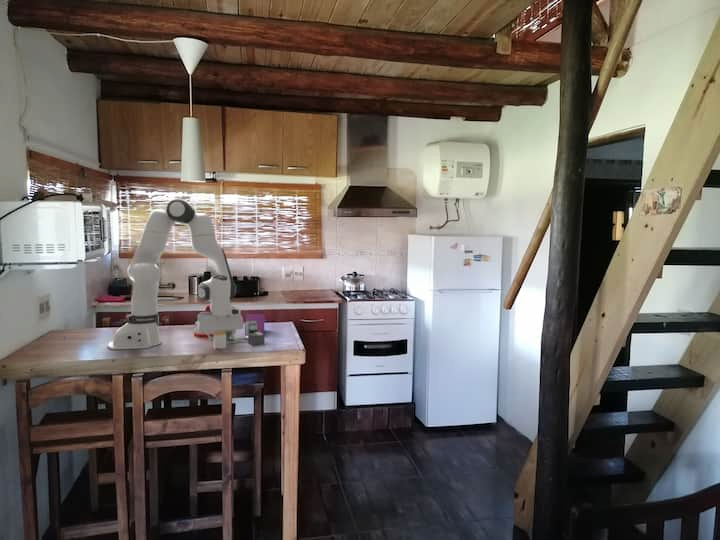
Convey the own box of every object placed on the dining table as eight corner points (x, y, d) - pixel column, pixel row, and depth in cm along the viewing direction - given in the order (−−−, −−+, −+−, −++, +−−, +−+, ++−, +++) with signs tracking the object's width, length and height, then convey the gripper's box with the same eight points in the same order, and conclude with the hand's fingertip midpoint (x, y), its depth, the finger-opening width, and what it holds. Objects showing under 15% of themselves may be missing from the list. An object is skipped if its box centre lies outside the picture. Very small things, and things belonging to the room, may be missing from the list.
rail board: (220, 344, 227) (220, 325, 226) (217, 341, 233) (217, 323, 232) (262, 341, 235) (262, 322, 235) (258, 337, 242) (258, 320, 241)
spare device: (252, 346, 225) (252, 334, 225) (248, 343, 230) (248, 332, 229) (264, 344, 229) (264, 333, 228) (260, 342, 233) (260, 331, 233)
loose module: (214, 348, 219) (214, 333, 218) (213, 346, 222) (213, 331, 222) (226, 347, 221) (226, 332, 220) (224, 345, 225) (224, 330, 224)
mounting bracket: (263, 347, 246) (264, 326, 261) (263, 334, 242) (264, 313, 257) (244, 348, 244) (246, 326, 260) (244, 335, 240) (246, 313, 255)
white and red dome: (190, 337, 240) (190, 307, 238) (198, 331, 253) (198, 303, 252) (218, 337, 240) (218, 308, 239) (225, 331, 254) (225, 303, 253)
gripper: (198, 313, 213) (199, 343, 215) (244, 310, 223) (244, 339, 224) (196, 311, 219) (196, 340, 220) (241, 307, 228) (241, 336, 230)
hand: (221, 340), depth 222 cm, fingers open, 8 cm apart
